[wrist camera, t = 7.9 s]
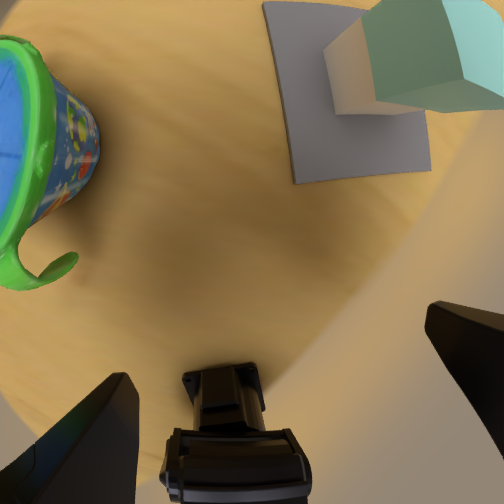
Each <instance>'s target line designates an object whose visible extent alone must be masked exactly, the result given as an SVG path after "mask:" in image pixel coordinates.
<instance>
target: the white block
mask: <svg viewBox="0 0 504 504" xmlns="http://www.w3.org/2000/svg"><path fill="white" fill-rule="evenodd" d="M361 17H362V16H361ZM361 17H360V18H359V19H358V20H356V21H355V22H354V23H353V24H352V25H351V26H349V27H348V28H347V29H346V30H345V31H344V32H342V33H341V34H340V35H339V36H338V37H337V38H336V39H335V40H333V41H332V42H331V43H330V44H329V45H328V46H327V47H326V48H325V49H324V50H323V54H324V58H325V62H326V67H327V71H328V76H329V81H330V86H331V91H332V96H333V102H334V108H335V113H336V115H345V114H372V115H397V114H403V113H408V112H414V111H421V110H427V109H422V108H417V107H412V106H406V105H400V104H394V103H387V102H380V101H376V97H375V90H374V83H373V76H372V70H371V64H370V59H369V53H368V48H367V43H366V39H365V34H364V30H363V25H362V21H361Z"/></svg>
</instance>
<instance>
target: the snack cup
mask: <svg viewBox="0 0 504 504" xmlns="http://www.w3.org/2000/svg"><path fill="white" fill-rule="evenodd" d="M99 139H100V134H99V129H98V126H97V124H96V121H95V119H94V118H93V116H92V114H91V112H90V110H89V108H88V107H87V106H86V105H84V104H83V103H82V102H81V101H80V100H79V99H78V98H77V97H76V96H75V95H74V94H73V93H71V92H70V91H69V90H68V89H67V88H66V87H65V86H64V85H63V84H61V83H60V82H59V81H58V80H57V79H55V78H54V77H53V76H52V75H51V74H50V73H49V70H48V68H47V67H46V65H45V63H44V62H43V59H42V56H41V54H40V52H39V51H38V50H37V49H36V48H35V47H34V46H33V45H31V43H30V41H27V40H25V39H22V38H19V37H14V36H9V35H0V285H1V286H4V287H6V288H8V289H12V290H17V291H27V290H31V289H35V288H38V287H40V286H43V285H46V284H49V283H51V282H53V281H55V280H57V279H59V278H60V277H62V276H63V275H65V274H66V273H67V272H69V271H70V270H71V269H72V268H73V266H74V265H75V264H76V263H77V261H78V258H79V256H78V253H76V252H69V253H67V254H65V255H63V256H61V257H59V258H57V259H56V260H55V261H53V262H52V263H50V264H49V265H48V267H47V268H46V269H45V270H44V271H43V272H42V273H41V274H40V275H39V277H38V278H37V277H36V276H34V275H33V274H32V273H30V272H29V271H28V270H27V269H25V268H24V267H23V265H22V264H21V262H20V260H19V256H18V245H19V242H20V240H21V237H22V236H23V235H24V233H25V231H26V230H27V229H28V228H30V227H31V226H32V225H33V224H35V223H36V222H38V221H39V220H40V219H42V218H43V217H45V216H46V215H48V214H49V213H51V212H52V211H54V210H55V209H57V208H58V207H60V206H61V205H62V204H63V203H65V202H67V201H69V200H70V199H71V198H73V197H74V196H75V195H76V194H77V193H78V192H79V191H80V190H81V189H82V188H83V187H84V186H85V185H86V183H87V182H88V180H89V179H90V177H91V175H92V174H93V171H94V168H95V165H96V163H97V162H98V160H99V154H100V147H99Z"/></svg>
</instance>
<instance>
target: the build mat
mask: <svg viewBox="0 0 504 504" xmlns="http://www.w3.org/2000/svg"><path fill="white" fill-rule="evenodd" d="M262 8H263V12H264V17H265V21H266V26H267V30H268V35H269V39H270V44H271V49H272V54H273V59H274V64H275V69H276V74H277V79H278V84H279V90H280V95H281V101H282V107H283V113H284V119H285V125H286V131H287V137H288V144H289V150H290V157H291V164H292V171H293V179H294V184H302V183H310V182H317V181H325V180H333V179H342V178H351V177H360V176H370V175H381V174H393V173H406V172H420V171H431V159H430V148H429V139H428V131H427V123H426V117H425V110H421V111H414V112H408V113H403V114H397V115H372V114H345V115H336V113H335V108H334V102H333V96H332V91H331V86H330V81H329V76H328V71H327V67H326V62H325V58H324V54H323V50H324V49H325V48H326V47H327V46H328V45H329V44H330V43H331V42H332V41H333V40H335V39H336V38H337V37H338V36H339V35H340V34H341V33H342V32H344V31H345V30H346V29H347V28H348V27H349V26H351V25H352V24H353V23H354V22H355V21H356V20H358V19H359V18H360V17H361V16H363V15H364V14H365V13H367V12H368V11H369V10H364V9H358V8H352V7H346V6H338V5H330V4H320V3H307V2H281V1H270V2H263V3H262Z"/></svg>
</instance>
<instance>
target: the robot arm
mask: <svg viewBox="0 0 504 504" xmlns="http://www.w3.org/2000/svg"><path fill="white" fill-rule="evenodd" d="M425 332H426V335H427V336H428V338H429V339H430V341H431V343H432V344H433V346H434V348H435V349H436V351H437V353H438V355H439V356H440V358H441V360H442V361H443V363H444V365H445V367H446V368H447V370H448V371H449V373H450V374H451V375H452V377H453V378H454V380H455V381H456V383H457V384H458V385H459V387H460V388H461V390H462V391H463V393H464V394H465V396H466V397H467V399H468V401H469V402H470V403H471V405H472V407H473V408H474V410H475V411H476V413H477V415H478V416H479V417H480V419H481V421H482V423H483V424H484V426H485V427H486V429H487V431H488V432H489V434H490V436H491V438H492V439H493V441H494V443H495V444H496V446H497V448H498V450H499V452H500V453H501V455H502V456H503V459H504V315H503V314H499V313H494V312H489V311H484V310H480V309H475V308H471V307H467V306H462V305H458V304H453V303H449V302H444V301H436V302H434V303H431V304H430V305H429V306H428V309H427V314H426V320H425ZM250 368H253V369H250ZM186 378H189V379H186ZM182 381H183V384H184V386H185V388H186V390H187V393H188V395H189V397H190V399H191V402H192V404H193V406H194V420H193V430H182V429H181V428H174V432H173V435H171V436H170V439H168V440H167V442H166V452H165V458H164V461H163V465H162V468H161V471H160V474H159V479H160V482H161V483H162V484H163V485H164V486H165V487H167V492H168V493H169V497H170V500H171V502H175V503H181V504H308V502H307V501H308V499H307V497H308V496H309V494H310V492H311V488H312V472H311V467H310V464H309V461H308V459H307V457H306V455H305V453H304V452H303V450H302V448H301V447H300V445H299V443H298V442H297V440H296V438H295V436H294V435H293V433H292V432H291V429H289V428H288V429H282V430H274V431H266V430H265V425H264V420H263V416H262V412H263V411H265V404H264V399H263V394H262V389H261V385H260V380H259V375H258V370H257V366H256V364H254V363H248V364H242V365H237V366H231V367H225V368H219V369H213V370H206V371H199V372H192V373H185V374H184V375H183V376H182ZM138 452H139V394H138V392H137V390H136V388H135V386H134V384H133V383H132V381H131V379H130V377H129V375H128V374H127V373H125V372H117V373H112V374H111V375H110V376H109V377H108V378H106V379H105V380H104V381H103V382H102V383H101V384H100V385H99V386H97V387H96V388H95V389H94V390H93V391H92V392H91V393H90V394H89V395H87V396H86V397H85V398H84V399H83V400H82V401H81V402H80V403H78V404H77V405H76V406H75V407H74V408H73V409H72V410H71V411H70V412H68V413H67V414H66V415H65V416H64V417H63V418H62V419H61V420H59V421H58V422H57V423H56V424H55V425H54V426H53V427H52V428H51V429H49V430H48V431H47V432H46V433H45V434H44V435H43V436H42V437H41V438H39V439H38V440H37V441H36V442H35V444H33V445H32V446H30V447H29V448H28V449H27V450H26V451H25V452H24V453H23V454H21V455H20V456H19V457H18V458H17V459H16V460H14V461H13V462H12V463H10V465H8V466H6V467H5V468H4V469H3V470H1V471H0V504H135V490H136V475H137V463H138Z"/></svg>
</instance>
